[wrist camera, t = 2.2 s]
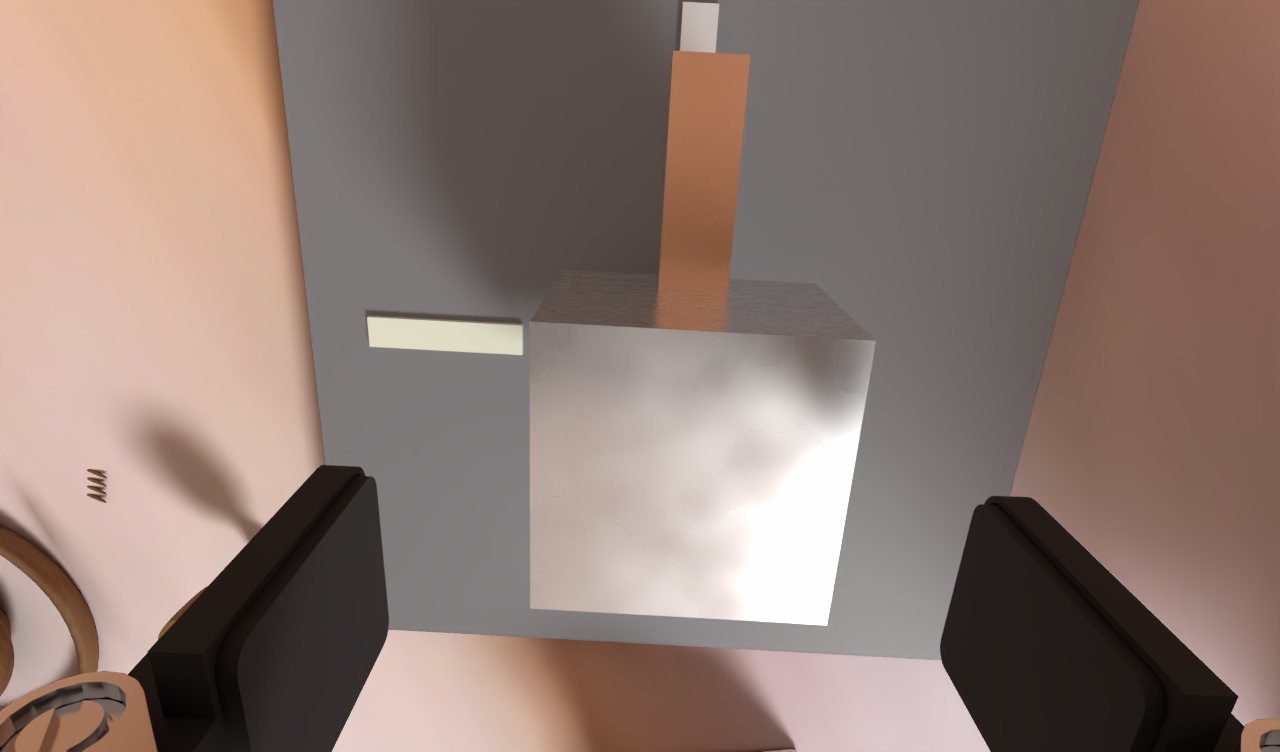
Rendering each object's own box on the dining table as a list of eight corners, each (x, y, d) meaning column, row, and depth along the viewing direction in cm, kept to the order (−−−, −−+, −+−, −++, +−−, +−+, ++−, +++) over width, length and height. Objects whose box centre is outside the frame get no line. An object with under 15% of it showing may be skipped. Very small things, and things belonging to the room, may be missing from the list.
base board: (1107, -39, 20) (1158, -58, 18) (945, 626, 28) (967, 665, 26) (296, -83, 20) (256, -107, 18) (364, 594, 28) (341, 630, 26)
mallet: (846, 67, 16) (928, 41, 11) (785, 505, 20) (826, 625, 15) (566, 52, 16) (528, 19, 11) (560, 493, 20) (530, 608, 15)
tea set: (-194, 390, 27) (-418, 458, 21) (323, 515, 28) (241, 611, 22) (-146, 727, 32) (-312, 851, 27) (282, 817, 34) (208, 953, 28)
